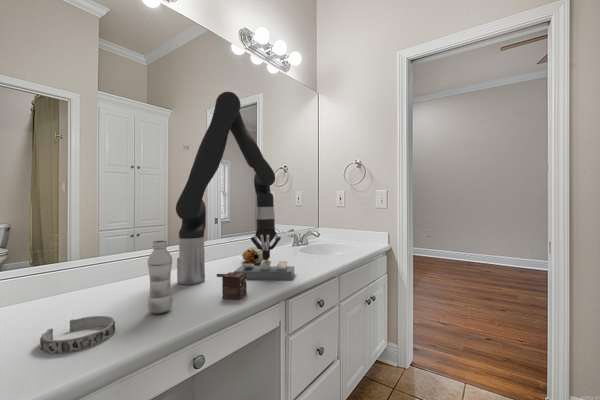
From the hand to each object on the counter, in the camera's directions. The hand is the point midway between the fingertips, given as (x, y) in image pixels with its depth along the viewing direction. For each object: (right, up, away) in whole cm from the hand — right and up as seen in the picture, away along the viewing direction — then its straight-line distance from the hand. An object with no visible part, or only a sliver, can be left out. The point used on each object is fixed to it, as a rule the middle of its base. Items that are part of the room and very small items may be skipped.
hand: (266, 259), depth 119 cm
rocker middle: (0, -3, -1) cm, 3 cm away
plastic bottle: (-26, -7, -38) cm, 46 cm away
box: (-7, -7, -25) cm, 27 cm away
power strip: (-5, -7, -1) cm, 8 cm away
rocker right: (+7, -3, -2) cm, 8 cm away
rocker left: (-7, -3, -2) cm, 8 cm away
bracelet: (-37, -8, -53) cm, 65 cm away
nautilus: (-10, -7, +23) cm, 26 cm away
